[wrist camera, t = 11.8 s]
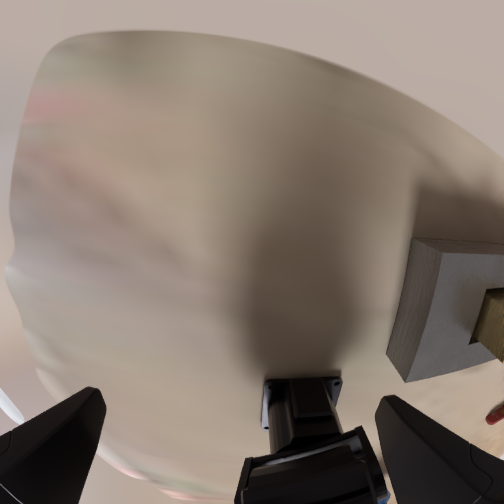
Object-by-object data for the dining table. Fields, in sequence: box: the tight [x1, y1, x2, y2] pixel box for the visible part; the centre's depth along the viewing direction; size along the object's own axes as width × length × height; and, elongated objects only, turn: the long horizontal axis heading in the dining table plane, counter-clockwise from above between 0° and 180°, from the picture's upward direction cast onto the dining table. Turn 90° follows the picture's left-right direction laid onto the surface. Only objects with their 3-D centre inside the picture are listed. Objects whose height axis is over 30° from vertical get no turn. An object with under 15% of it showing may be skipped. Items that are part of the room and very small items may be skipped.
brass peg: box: [472, 287, 504, 363], centre depth 16 cm, size 4×4×8 cm
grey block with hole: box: [386, 238, 504, 383], centre depth 18 cm, size 10×16×4 cm, turn 88°
